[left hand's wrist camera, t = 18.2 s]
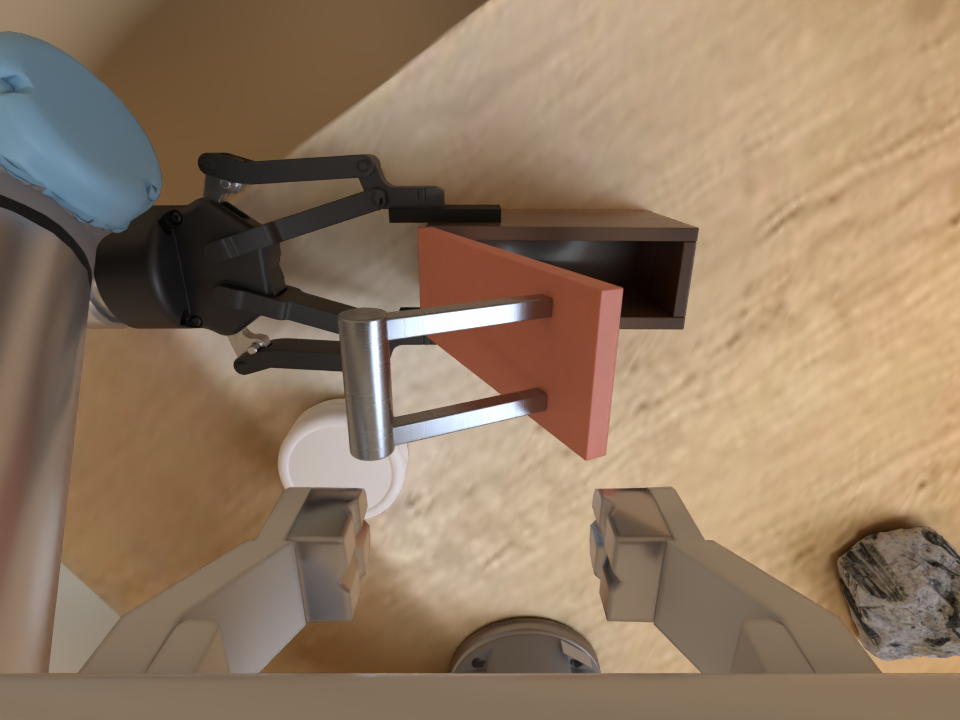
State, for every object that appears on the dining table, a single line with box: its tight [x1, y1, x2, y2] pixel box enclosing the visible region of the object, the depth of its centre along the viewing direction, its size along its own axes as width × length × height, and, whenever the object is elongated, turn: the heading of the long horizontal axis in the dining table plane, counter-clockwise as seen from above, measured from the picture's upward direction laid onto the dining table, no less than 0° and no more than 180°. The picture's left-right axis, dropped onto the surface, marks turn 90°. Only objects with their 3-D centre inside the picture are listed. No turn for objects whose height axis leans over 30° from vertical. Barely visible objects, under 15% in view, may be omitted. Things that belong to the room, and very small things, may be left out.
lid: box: [338, 227, 623, 461], centre depth 22 cm, size 16×6×8 cm
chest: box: [426, 209, 699, 329], centre depth 35 cm, size 15×6×10 cm, turn 90°
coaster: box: [278, 398, 408, 520], centre depth 44 cm, size 10×10×4 cm
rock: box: [837, 526, 960, 661], centre depth 48 cm, size 15×10×7 cm
